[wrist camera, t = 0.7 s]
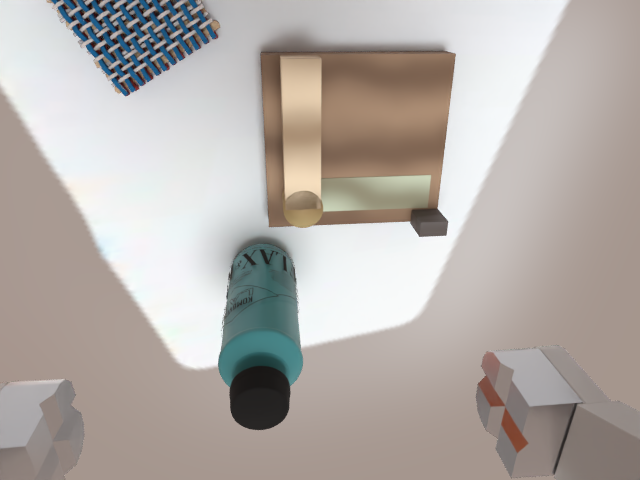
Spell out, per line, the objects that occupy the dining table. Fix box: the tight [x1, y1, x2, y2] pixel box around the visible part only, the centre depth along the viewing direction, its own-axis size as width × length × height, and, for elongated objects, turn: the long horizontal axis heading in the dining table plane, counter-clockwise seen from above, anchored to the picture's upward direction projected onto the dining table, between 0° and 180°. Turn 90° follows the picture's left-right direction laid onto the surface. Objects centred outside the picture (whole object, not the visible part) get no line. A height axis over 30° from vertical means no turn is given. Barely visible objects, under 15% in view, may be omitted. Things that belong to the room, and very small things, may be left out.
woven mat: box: [47, 0, 220, 96], centre depth 37 cm, size 10×11×2 cm
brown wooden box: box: [261, 51, 456, 237], centre depth 42 cm, size 15×16×6 cm
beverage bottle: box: [218, 244, 303, 430], centre depth 40 cm, size 6×7×20 cm
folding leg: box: [280, 55, 323, 228], centre depth 40 cm, size 14×3×3 cm, turn 179°
